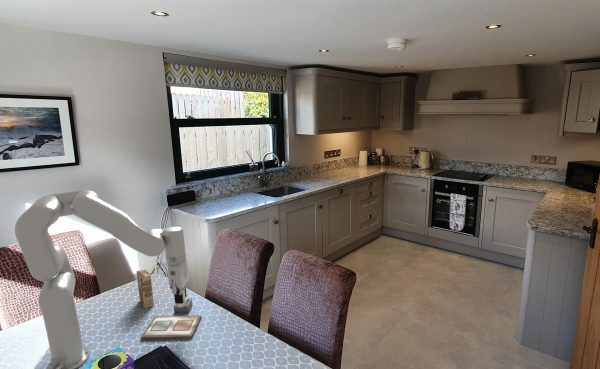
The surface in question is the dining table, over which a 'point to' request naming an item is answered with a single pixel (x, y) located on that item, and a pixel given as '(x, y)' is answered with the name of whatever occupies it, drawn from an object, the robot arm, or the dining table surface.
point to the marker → (183, 298)
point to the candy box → (145, 288)
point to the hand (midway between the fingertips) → (181, 299)
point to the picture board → (171, 327)
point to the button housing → (183, 309)
